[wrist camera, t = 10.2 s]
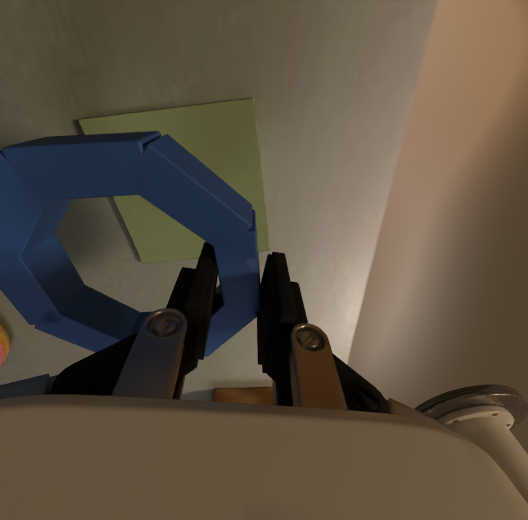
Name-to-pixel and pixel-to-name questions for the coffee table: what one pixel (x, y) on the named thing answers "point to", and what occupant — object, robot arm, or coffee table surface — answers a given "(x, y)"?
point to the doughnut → (4, 344)
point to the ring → (105, 185)
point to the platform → (245, 395)
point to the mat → (205, 150)
